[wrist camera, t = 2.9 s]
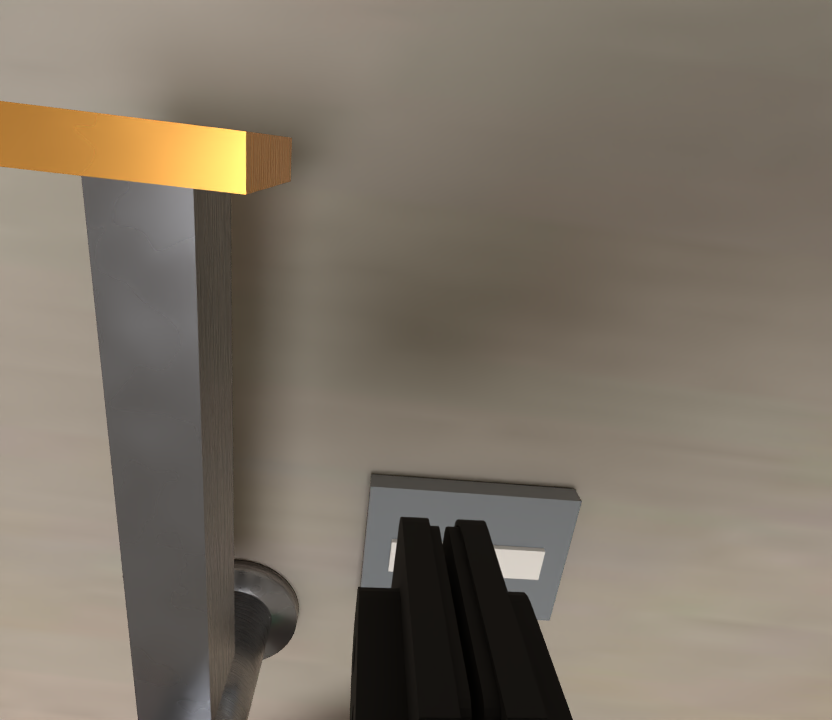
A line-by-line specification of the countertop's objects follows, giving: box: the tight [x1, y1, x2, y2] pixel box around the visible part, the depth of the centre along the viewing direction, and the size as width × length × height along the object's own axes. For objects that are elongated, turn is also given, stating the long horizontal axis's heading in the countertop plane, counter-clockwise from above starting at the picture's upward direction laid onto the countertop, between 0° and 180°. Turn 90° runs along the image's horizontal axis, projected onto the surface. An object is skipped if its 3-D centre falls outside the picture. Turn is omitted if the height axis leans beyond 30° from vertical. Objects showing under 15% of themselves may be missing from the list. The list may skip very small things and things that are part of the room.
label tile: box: [360, 474, 582, 620], centre depth 21 cm, size 8×6×1 cm
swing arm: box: [0, 101, 292, 720], centre depth 13 cm, size 16×4×4 cm, turn 173°
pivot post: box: [215, 560, 299, 720], centre depth 18 cm, size 5×5×10 cm
